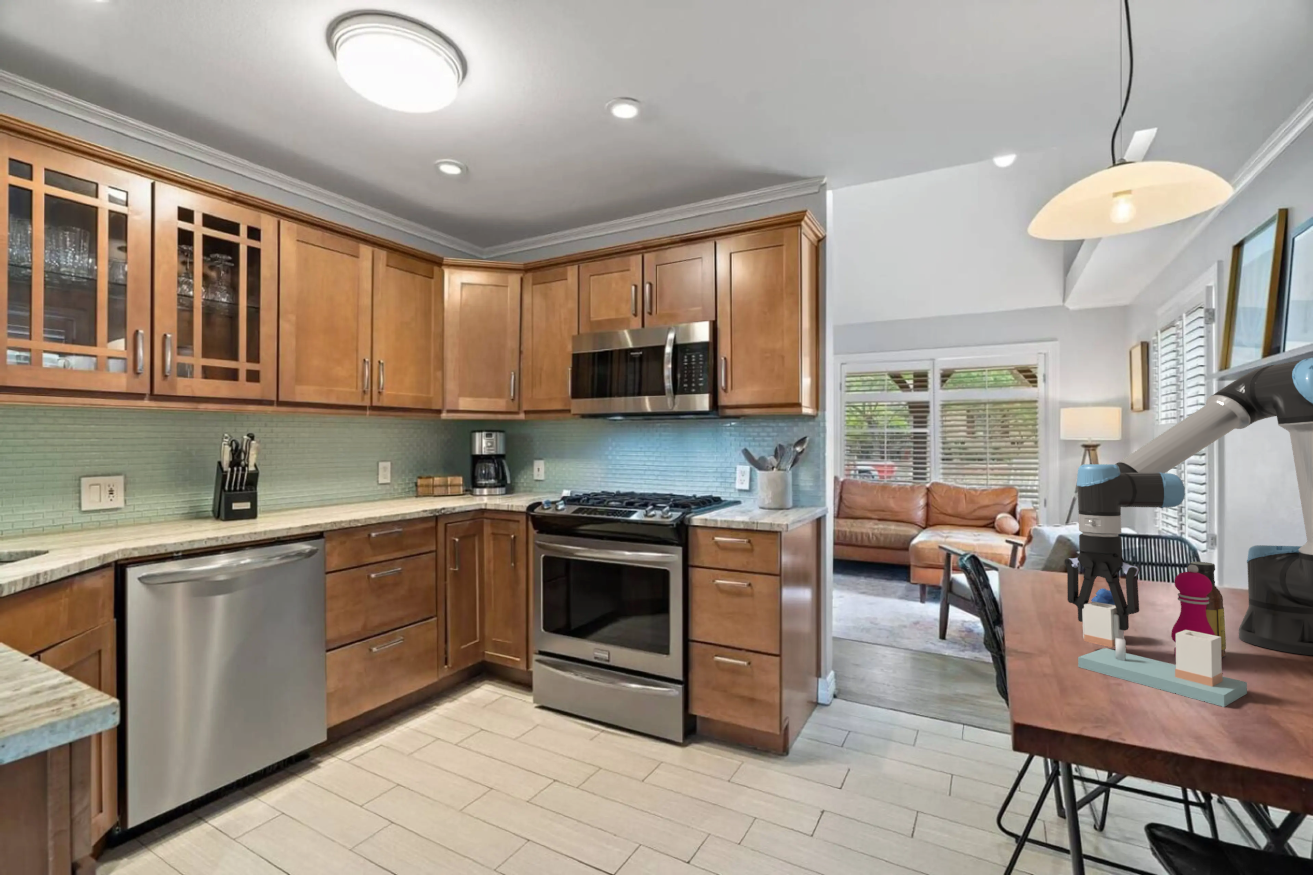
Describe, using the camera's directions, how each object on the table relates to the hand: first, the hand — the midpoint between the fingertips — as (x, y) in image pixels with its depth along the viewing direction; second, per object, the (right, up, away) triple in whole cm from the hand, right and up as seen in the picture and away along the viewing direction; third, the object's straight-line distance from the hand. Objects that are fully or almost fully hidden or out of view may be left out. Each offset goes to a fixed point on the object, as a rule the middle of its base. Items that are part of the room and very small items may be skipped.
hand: (1103, 640), depth 129 cm
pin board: (-1, -2, -16) cm, 16 cm away
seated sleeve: (+2, 0, -21) cm, 21 cm away
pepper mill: (+17, -3, -3) cm, 17 cm away
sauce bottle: (+23, -3, 0) cm, 23 cm away
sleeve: (0, 0, 0) cm, 0 cm away
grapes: (+9, -3, +9) cm, 13 cm away
